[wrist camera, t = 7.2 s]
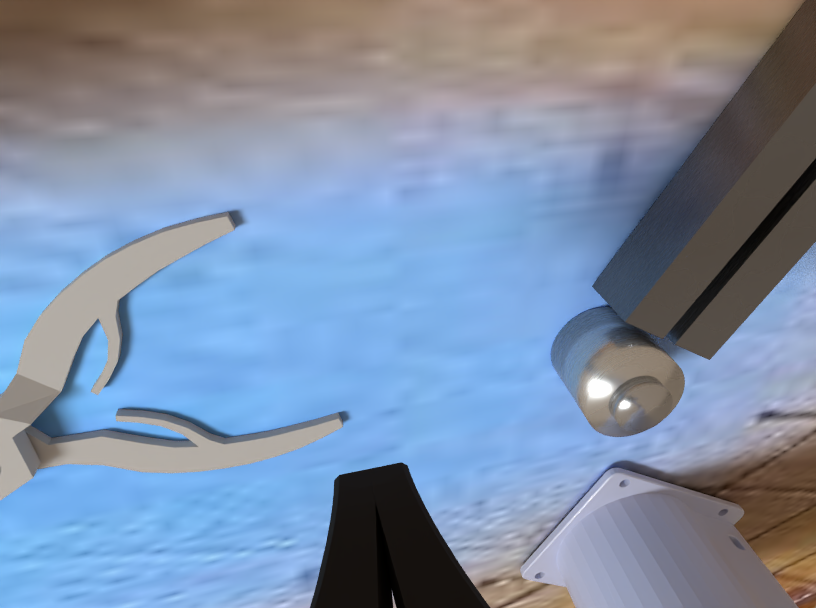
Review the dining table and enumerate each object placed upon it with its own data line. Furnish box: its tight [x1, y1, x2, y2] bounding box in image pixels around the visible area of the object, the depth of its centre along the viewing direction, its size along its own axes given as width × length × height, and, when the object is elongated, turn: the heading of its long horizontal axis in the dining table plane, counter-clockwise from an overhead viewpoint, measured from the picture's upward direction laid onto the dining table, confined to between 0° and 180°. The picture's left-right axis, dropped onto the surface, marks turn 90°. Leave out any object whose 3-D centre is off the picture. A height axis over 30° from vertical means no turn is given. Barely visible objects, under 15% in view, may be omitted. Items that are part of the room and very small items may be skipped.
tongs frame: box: [551, 158, 816, 437], centre depth 18 cm, size 4×20×4 cm, turn 151°
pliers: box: [0, 212, 343, 500], centre depth 20 cm, size 10×2×15 cm
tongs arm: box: [592, 0, 816, 339], centre depth 17 cm, size 2×16×3 cm, turn 151°
